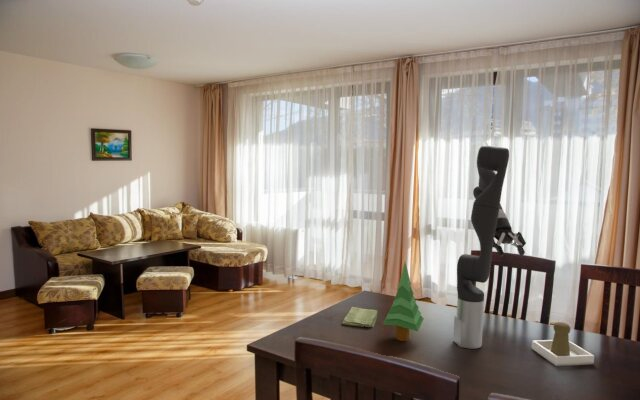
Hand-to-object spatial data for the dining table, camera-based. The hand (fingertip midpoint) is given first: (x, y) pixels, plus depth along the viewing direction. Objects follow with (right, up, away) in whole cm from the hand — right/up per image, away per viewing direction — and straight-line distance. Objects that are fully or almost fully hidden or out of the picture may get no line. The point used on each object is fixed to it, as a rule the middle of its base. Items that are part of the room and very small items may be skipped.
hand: (512, 255), depth 174 cm
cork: (+8, -32, -19) cm, 38 cm away
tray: (+9, -33, -20) cm, 39 cm away
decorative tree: (-45, -31, -7) cm, 55 cm away
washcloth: (-59, -29, +12) cm, 67 cm away
